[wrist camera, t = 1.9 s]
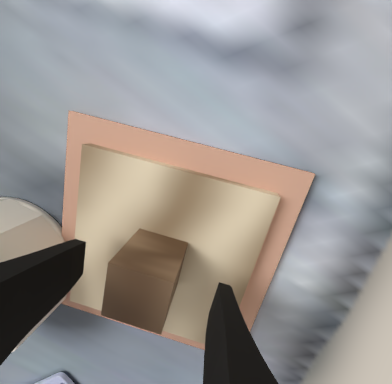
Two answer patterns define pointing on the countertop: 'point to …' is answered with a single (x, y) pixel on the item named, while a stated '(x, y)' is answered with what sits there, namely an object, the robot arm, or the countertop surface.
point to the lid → (164, 240)
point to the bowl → (26, 234)
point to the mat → (200, 162)
